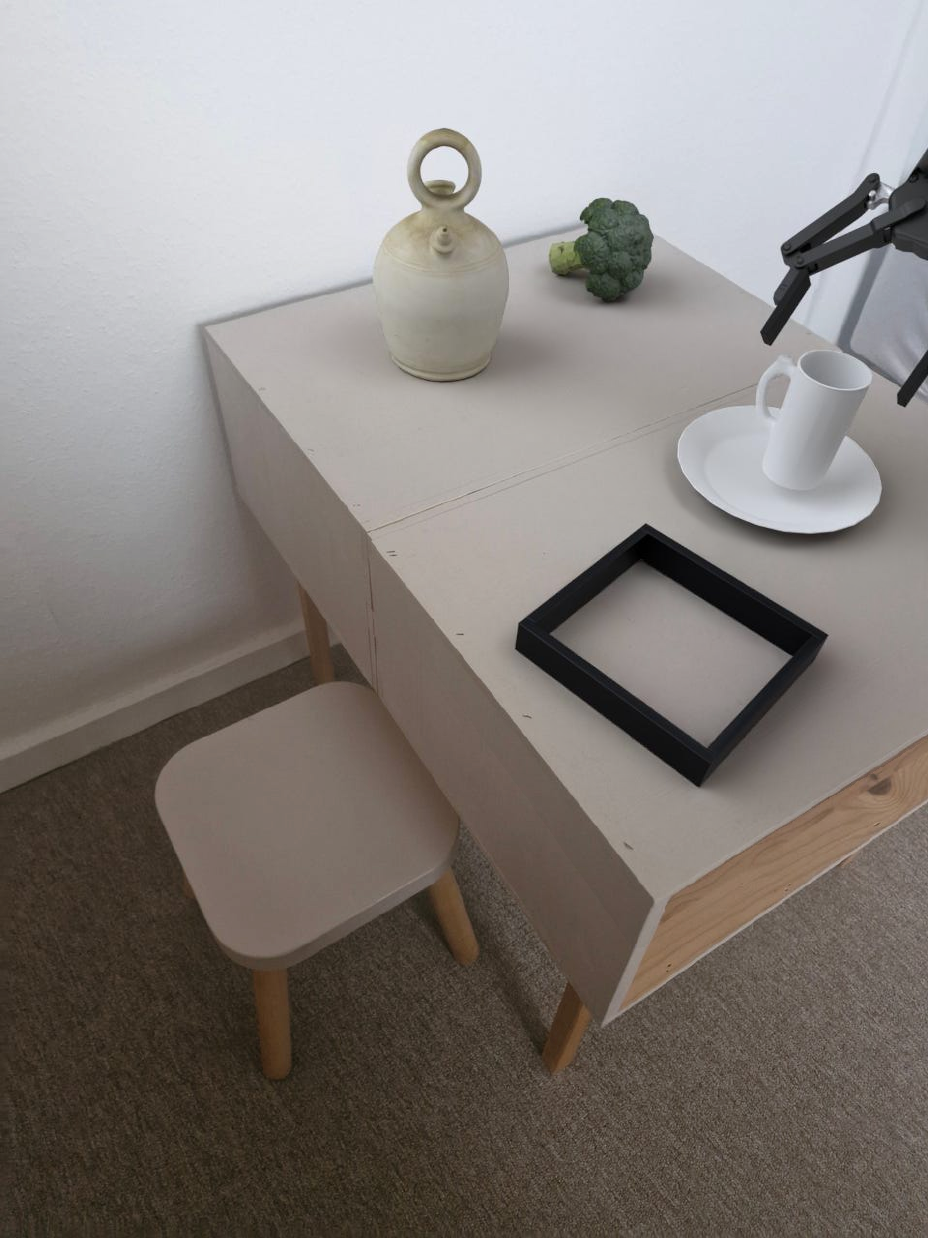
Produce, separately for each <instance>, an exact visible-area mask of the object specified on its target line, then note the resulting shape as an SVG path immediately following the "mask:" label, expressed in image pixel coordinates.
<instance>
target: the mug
mask: <svg viewBox="0 0 928 1238" xmlns="http://www.w3.org/2000/svg"><path fill="white" fill-rule="evenodd" d="M778 375H785V376H787V377H788V378H789V380H790V383H789V385H788V388H787V391H786V394H785V397H784V399H783V401H782V405H781V407H780V409H781V410H780V413H779V416H778V419H775V418H774V417H772V416H771V414H770V412H769V410H768V407H769V406H768V392H769V388H770V385H771V384H772V382H773V380H774V379H775V378H776V377H777V376H778ZM873 379H874V375H873V372H872V370H871V369H870V368H869V366H868V365H867V364H866V363H865V362H863V361H862V360H860V359H859V358H857V357H855V356H853V355H851V354H847V353H845V352H842V351H837V350H831V349H813V350H809V351H806V352H804V353H803V354H801V355H800V356H799V358H798V360H797V364H795V362H794V359H793V358H791V357H790V356H789V355H787V354H785V353H781V354H780V355H778V357H777V358H776V360H775V361H774V362H773V363H771V365H769V367H768V368H767V369H766V370H765V371H764V373H763V374H762V375H761V377H760V379H759V381H758V384H757V387H756V392H755V406H756V426H757V427H758V428H760V429H762V430H764V431H765V432H766V433H767V434H768V435H769V436H770V441H769V444H768V447H767V450H766V453H765V456H764V459H763V462H762V468H763V471H764V473H765V474H766V476H767V477H768V478H769V479H770V480H772V481H773V482H774V483H776V484H778V485H780V486H782V487H785V488H788V489H793V490H809V489H813V488H815V487H817V486H818V485H820V484H821V482H822V481H823V479H824V477H825V475H826V473H827V471H828V469H829V467H830V465H831V464H832V462H833V460H834V458H835V455H836V453H837V451H838V449H839V447H840V445H841V443H842V441H843V439H844V437H845V435H846V436H847V433H848V431H849V429H850V427H851V425H852V423H853V421H854V419H855V417H856V415H857V413H858V411H859V409H860V407H861V405H862V403H863V401H864V399H865V396H866V395H867V393H868V390H869V388H870V386H871V384H872V383H873Z"/></svg>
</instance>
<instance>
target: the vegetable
mask: <svg viewBox="0 0 928 1238" xmlns="http://www.w3.org/2000/svg"><path fill="white" fill-rule="evenodd" d="M579 221H581V222H583V224H584V225H587V229H586V230H587V233H585V234H583V235H580V236H578V237H577V238H576V240H572V241H559V242H555V243H551V246H550V248H549V252H548V262H549V267H550V269H551V273H553V274H554V275H565V276H566V275H568V274H569V272H571V271H576V270H581V269H585V270H588V271H589V272H588V274H587V279H586V280H585V284H584V287H585V288H586V292H587V293H590V294H591V295H593V297H596V298H598V299H601V300H602V301H604V302H612V301H615V300H616V299H617V297H618V296H619V295H626V294H629V293H630V292H633V291H635V290H636V289H637V288H639V286H640V285H641V284H642V282H643V279H644V276H645V270H647V269H648V268H649V265H650V263H651V262H652V257H653V255H652V247H653V242H654V239H655V236H654V234H653V232H652V229H651V226H650V225H651V224H650V222H649V221H650V219H649V218H648V217H647V216H646V215H645V214H642V213H640V211H639V209H638V207H637V206H636V204H634V203H633V202H631V201H627V200H624V199H623V200H621V199H616V200H614V201H613V200H612V199H610V198H609V197H598V198H595V199H594V200H592V201H591V202H589V203H588V206H585V207H584V209H582V211H581V213H580V214H579Z"/></svg>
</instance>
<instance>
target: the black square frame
mask: <svg viewBox="0 0 928 1238" xmlns="http://www.w3.org/2000/svg"><path fill="white" fill-rule="evenodd" d="M640 561H642V562H644V563H645V564H647V566H650V567H652V568H653V569H654V570H656V571H658V572H659V573H661V574H662V575H663V576H666V577H667V578H668V579H670V580H672V581H673V582H675V583H677V584H678V585H679V586H681V587H683V588H684V589H686V590H687V591H689V592H690V593H692V594H694V595H695V596H697V597H698V598H699V599H702V600H703V601H705V602H706V603H708V604H709V605H711V606H713V607H714V608H715V609H717V610H718V611H720V612H722V613H724V614H725V615H727V616H728V617H730V618H731V619H733V620H735V622H738V623H739V624H740V625H742V626H743V627H746V628H747V629H748V630H750V631H752V632H754V633H755V634H756V635H758V636H759V637H762V638H763V639H765V640H766V641H767V642H769V643H771V644H772V645H774V646H776V648H779V649H780V650H781V651H783V652H785V653H787V654H788V655H789V656H791V657H790V658H789V659H788V660H787V662H785V664H783V665H782V667H781V668H780V669H779V670H778V671H777V672H776V673H775V674H774V675H773V677H772V678H771V679H769V681H768V682H767V683H766V684H765V685H764V686H763V687H762V688H761V690H759V692H757V694H755V696H754V697H753V698H752V699H751V700H750V701H749V702H748V703H747V704H746V705H745V707H744V708H743V709H742V710H741V711H740V712H739V713H738V714H737V715H736V716H735V717H734V718H733V719H732V721H730V722H729V724H728V725H726V727H725V728H724V729H723V730H722V731H721V732H720V733H719V734H718V735H717V736H716V737H715V739H714V740H713V741H712V742H711V743H710V744H709V745H708V746H707V747H705V746H704V745H703V744H702V743H700V742H699V741H697V740H696V739H695V738H693V736H690V734H688V733H686V732H685V731H684V730H682V729H681V728H679V727H678V726H677V725H676V724H674V723H672V722H671V721H670V720H668V718H666V717H665V716H663V715H662V714H661V713H659V712H658V711H656V710H655V709H654V708H652V707H651V706H649V705H648V704H646V702H643V701H642V700H641V699H640V698H639V697H637V696H635V695H634V694H633V693H631V692H630V691H629V690H628V689H626V688H625V687H623V686H622V685H620V684H619V683H618V682H616V681H615V680H614V679H613V678H611V677H610V676H608V675H607V674H605V673H604V672H603V671H601V670H600V669H599V668H597V667H596V666H595V665H593V664H591V663H590V662H589V661H588V660H586V659H585V658H584V657H582V656H581V655H579V654H578V653H577V652H575V651H573V649H571V648H569V647H568V646H567V645H565V644H564V643H563V642H562V641H560V640H558V639H557V638H556V637H554V636H553V635H552V634H551V633H552V632H553V631H555V630H556V629H557V628H559V627H560V626H561V625H562V624H563V623H565V622H566V621H567V620H568V619H570V618H571V617H572V616H573V615H574V614H576V613H577V612H579V610H581V609H582V608H583V607H584V606H586V605H587V604H588V603H589V602H590V601H592V600H593V599H595V598H596V597H597V596H598V595H599V594H600V593H601V592H603V591H604V590H605V589H606V588H607V587H609V586H611V584H613V583H614V582H615V581H616V580H617V579H618V578H620V577H621V576H622V575H623V574H625V573H626V572H627V571H629V570H630V569H631V568H632V567H633V566H635V565H636V564H637V563H638V562H640ZM517 623H518V624H517V630H516V638H515V645H514V650H515V651H517V652H518V653H519V654H521V655H522V656H523V657H524V658H526V659H527V660H529V661H530V662H531V663H533V664H534V665H535V666H536V667H538V668H539V669H540V670H542V671H543V672H545V673H546V674H547V675H548V676H549V677H551V678H552V679H554V680H555V681H556V682H557V683H559V684H560V685H561V686H563V687H564V688H565V689H567V690H568V691H570V693H573V694H574V695H575V696H576V697H577V698H579V699H580V700H581V701H583V702H584V703H586V704H587V705H588V706H590V707H591V708H592V709H593V710H595V711H596V712H597V713H599V714H600V715H601V716H602V717H604V718H605V719H606V720H608V721H610V722H611V723H612V724H613V725H615V726H616V727H617V728H618V729H620V730H621V731H622V732H624V733H625V734H627V735H628V736H629V737H630V738H632V739H633V740H634V741H636V742H637V743H638V744H639V745H641V746H643V747H644V748H645V749H646V750H647V751H649V752H650V753H652V754H653V755H654V756H656V757H657V758H659V759H660V760H661V761H663V762H664V763H665V764H666V765H668V767H670V768H671V769H673V770H675V771H676V772H677V773H678V774H679V775H681V776H682V777H684V778H685V779H686V780H688V781H689V782H690V783H692V785H694V786H696V788H700V787H701V786H702V785H703V784H704V783H705V782H706V781H707V780H708V779H709V778H710V776H711V775H712V774H713V773H714V772H715V771H716V770H717V769H718V768H719V766H720V765H722V763H723V762H724V761H725V760H726V759H727V758H728V757H729V755H730V754H732V752H734V749H736V748H737V747H738V746H739V744H740V743H741V742H742V741H743V740H744V739H745V738H746V737H747V736H748V734H750V732H751V731H753V729H754V728H755V727H756V725H758V723H760V721H761V720H762V719H763V718H764V717H765V716H766V715H767V713H769V711H770V710H771V709H772V708H773V707H774V706H775V705H776V704H777V703H778V701H779V700H780V699H781V698H782V697H783V696H784V695H785V694H786V693H787V691H788V690H789V689H790V688H791V687H792V686H793V685H794V684H795V682H797V681H798V680H799V678H800V677H801V676H802V675H803V674H804V672H805V671H806V670H807V669H808V668H809V667H810V666H811V665H812V664H813V663H814V662H815V661H816V659H817V657H818V655H819V653H820V651H821V650H822V648H823V647H824V644H825V643H826V642H827V639H828V638H829V634H828V633H827V632H825V631H823V630H822V629H820V628H818V627H817V626H816V625H814V624H812V623H810V622H809V621H807V620H806V619H804V618H802V617H800V616H798V615H797V614H796V613H794V612H792V611H791V610H789V609H787V608H786V607H784V606H782V605H780V604H779V603H778V602H776V601H775V600H772V599H771V598H769V597H767V596H766V595H764V594H763V593H762V592H760V591H758V590H757V589H755V588H753V587H751V586H749V585H748V584H746V583H745V582H743V581H742V580H740V579H738V578H737V577H736V576H734V575H732V574H730V573H729V572H727V571H725V570H723V569H722V568H720V567H719V566H717V565H715V564H713V563H712V562H711V561H709V560H707V559H706V558H704V557H702V556H701V555H699V554H697V553H696V552H694V551H693V550H690V549H689V548H687V547H686V546H684V545H683V544H681V543H679V542H678V541H676V540H674V539H673V538H671V537H669V536H668V535H667V534H665V533H663V532H661V531H660V530H658V529H657V528H655V527H653V526H652V525H650V524H648V523H647V522H645V523H644V524H642V525H641V526H640V527H639V528H637V529H636V530H635V531H634V532H632V533H631V534H630V535H629V536H628V537H626V538H625V539H623V540H622V541H621V542H620V543H618V544H617V545H616V546H614V547H613V548H612V549H611V550H609V551H608V552H607V553H606V554H605V555H603V556H601V558H599V559H597V561H595V562H594V563H593V564H591V565H590V566H589V567H587V568H586V569H585V570H584V571H583V572H582V573H579V575H577V576H576V577H575V578H574V579H572V580H571V581H569V582H568V583H567V584H566V585H564V586H563V587H562V588H561V589H559V591H557V592H556V593H554V594H553V595H551V597H549V598H548V599H547V600H545V601H543V603H542V604H540V605H539V606H538V607H536V608H535V609H534V610H533V611H531V612H530V613H529V614H527V616H525V617H524V618H523V619H521V620H520V621H519V622H517Z"/></svg>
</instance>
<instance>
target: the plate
mask: <svg viewBox="0 0 928 1238" xmlns="http://www.w3.org/2000/svg"><path fill="white" fill-rule="evenodd" d="M768 410H769V412H770V414H771V416H772V417H774V418H775V419H778V416H779V413H780V410H781V407H780V408H779V407H774V406H768ZM678 439H679V440H678V442H677V455H676V456H677V460H678V462H679V465H680V469H681V471H682V473H683V475H684V476H685V478H686V479H687V480H688V482H689V483H690V484H691V486H692V487H693V488H694V489H695V490H696V491H697V492H698V493H699V494H700V495H701V496H703V498H704V499H706V500H707V501H708V502H709V503H710V504H712V505H714V506H716V507H717V508H719V509H720V510H723V511H724V512H726V513H728V514H729V515H731V516H733V517H735V518H737V519H740V520H743V521H744V522H748V523H750V524H753V525H755V526H759V527H763V528H767V529H770V530H775V531H779V532H783V533H793V534H794V533H796V534H806V535H811V534H813V535H814V534H823V533H833V532H837V531H840V530H843V529H847V528H851V527H853V526H855V525H857V524H859V523H860V522H862V521H863V520H865V519H866V518H868V517H869V516H871V514H872V513H873V512H874V510H875V509H876V508H877V506H878V505H879V504H880V499H881V495H882V490H883V486H882V481H881V475H880V471H879V470H878V469H877V467H876V465H875V463H874V462H873V460H872V458H871V457H870V455H868V453H867V452H866V451H865V450H864V449H863V448H862V447H861V446H860V445H859V444H858V443H857V442H856V441H855V440H853V439H852V438H850V437H849V436H848V435H847V434H846V435H845V437H844V439H843V441H842V443H841V445H840V447H839V449H838V451H837V453H836V455H835V458H834V460H833V462H832V464H831V465H830V467H829V469H828V471H827V473H826V475H825V477H824V479H823V481H822V482H821V484H820V485H818V486H817V487H815V488H813V489H809V490H793V489H788V488H785V487H782V486H780V485H778V484H776V483H774V482H773V481H772V480H770V479H769V478H768V477H767V476H766V474H765V473H764V471H763V468H762V462H763V459H764V456H765V453H766V450H767V447H768V444H769V441H770V436H769V435H768V434H767V433H766V432H765V431H764V430H762V429H760V428H758V427H757V426H756V405H751V404H750V405H740V406H739V405H737V406H727V407H723V408H719V409H715V410H711V411H709V412H706V413H705V414H703V415H701V416H699V417H697V418H695V419H693V420H692V422H691V423H689V425H688V426H686V427H685V428H684V429H683V431H682V433H681V436H680V437H679V438H678Z"/></svg>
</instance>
